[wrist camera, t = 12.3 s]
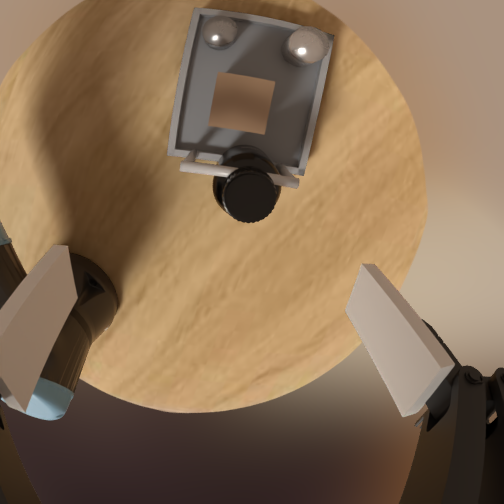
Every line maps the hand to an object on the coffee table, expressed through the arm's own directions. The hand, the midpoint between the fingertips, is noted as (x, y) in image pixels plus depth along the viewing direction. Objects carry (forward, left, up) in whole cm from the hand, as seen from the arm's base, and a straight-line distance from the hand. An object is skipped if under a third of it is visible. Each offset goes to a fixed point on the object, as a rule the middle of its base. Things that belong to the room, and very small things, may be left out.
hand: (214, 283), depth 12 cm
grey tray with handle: (+2, +10, -26) cm, 28 cm away
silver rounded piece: (+6, +16, -24) cm, 29 cm away
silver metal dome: (-3, +16, -24) cm, 29 cm away
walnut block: (+1, +8, -24) cm, 25 cm away
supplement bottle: (+3, 0, -26) cm, 26 cm away
